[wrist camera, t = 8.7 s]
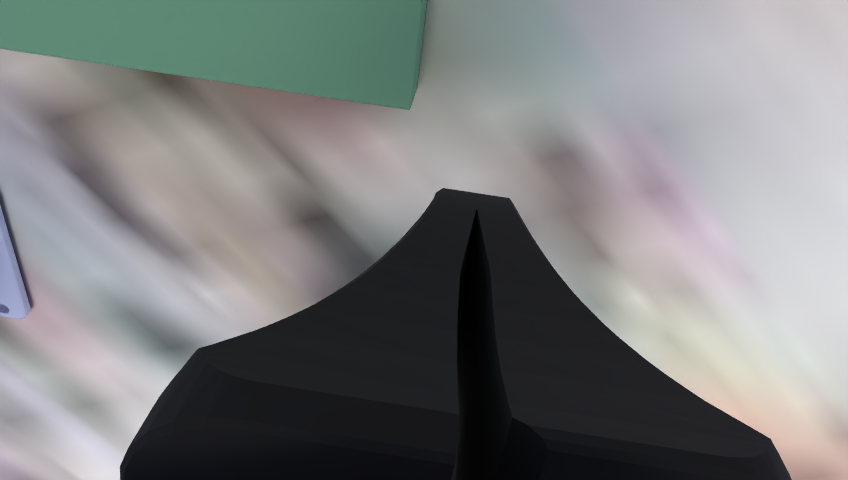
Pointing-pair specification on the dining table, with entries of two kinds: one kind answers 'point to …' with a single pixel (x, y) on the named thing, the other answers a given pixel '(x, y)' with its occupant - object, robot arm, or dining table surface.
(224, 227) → the dining table surface
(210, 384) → the robot arm
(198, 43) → the putting mat
